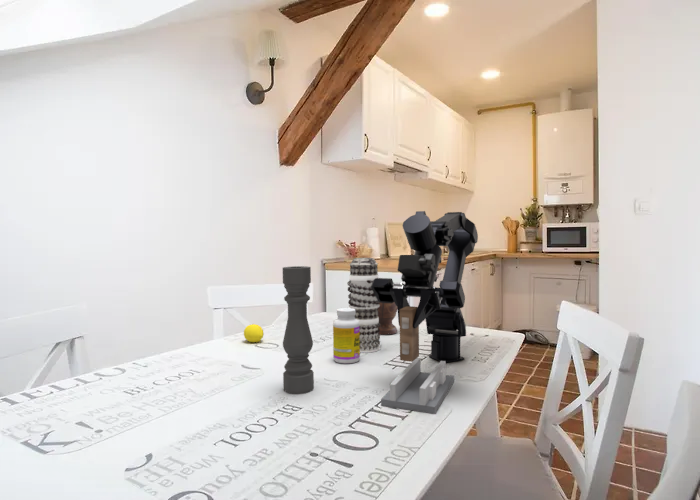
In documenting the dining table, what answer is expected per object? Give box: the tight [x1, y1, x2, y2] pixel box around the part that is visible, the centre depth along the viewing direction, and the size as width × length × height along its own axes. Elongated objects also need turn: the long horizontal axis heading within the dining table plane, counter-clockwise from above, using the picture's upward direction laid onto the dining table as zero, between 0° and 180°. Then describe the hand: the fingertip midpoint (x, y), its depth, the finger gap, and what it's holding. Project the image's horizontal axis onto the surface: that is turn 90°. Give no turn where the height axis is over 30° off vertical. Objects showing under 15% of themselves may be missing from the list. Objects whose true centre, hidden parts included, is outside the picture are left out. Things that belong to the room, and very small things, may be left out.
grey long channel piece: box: [380, 357, 455, 415], centre depth 87 cm, size 18×10×4 cm, turn 156°
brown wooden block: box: [399, 305, 420, 363], centre depth 86 cm, size 5×2×10 cm, turn 152°
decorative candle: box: [347, 257, 381, 354], centre depth 121 cm, size 9×9×25 cm
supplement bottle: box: [332, 307, 361, 364], centre depth 110 cm, size 7×7×13 cm
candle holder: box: [282, 265, 315, 395], centre depth 90 cm, size 6×6×25 cm
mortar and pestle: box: [377, 300, 398, 336], centre depth 139 cm, size 12×9×20 cm
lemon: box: [243, 323, 265, 344], centre depth 130 cm, size 7×5×5 cm
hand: (407, 326), depth 86 cm, fingers closed on brown wooden block, 2 cm apart
